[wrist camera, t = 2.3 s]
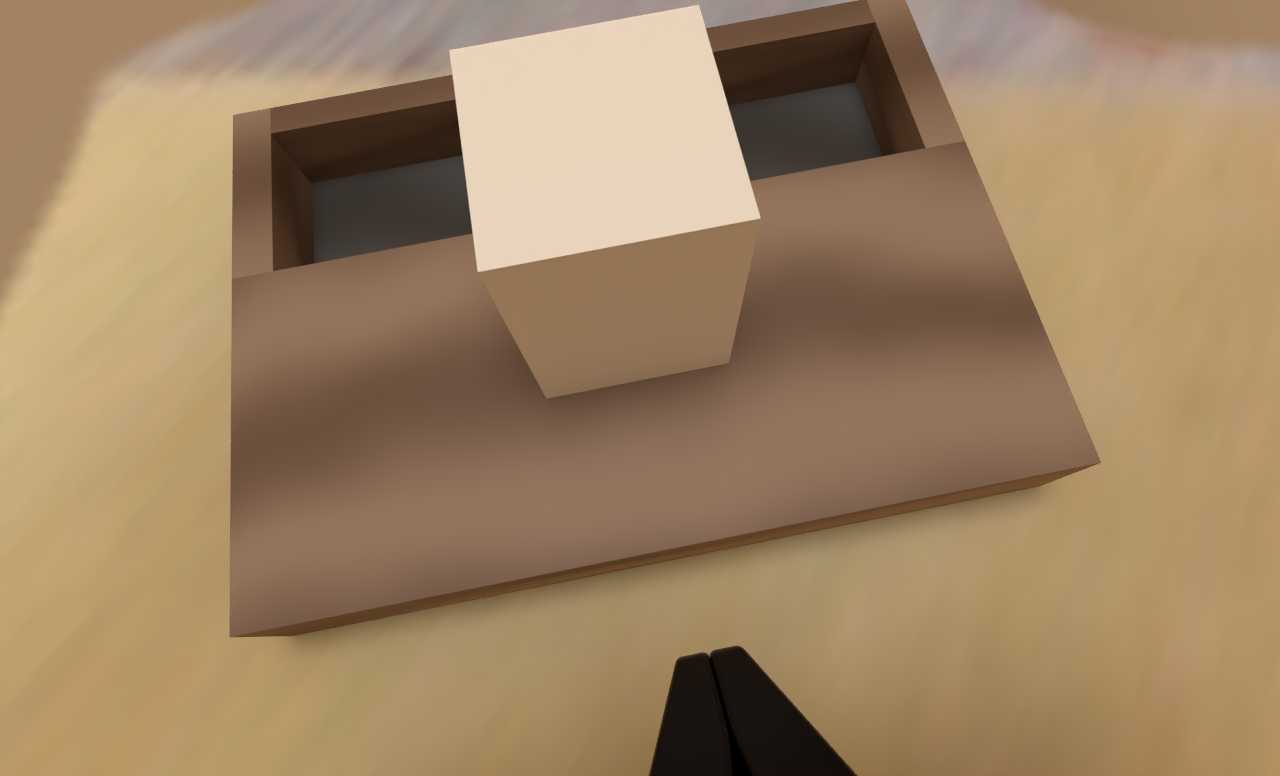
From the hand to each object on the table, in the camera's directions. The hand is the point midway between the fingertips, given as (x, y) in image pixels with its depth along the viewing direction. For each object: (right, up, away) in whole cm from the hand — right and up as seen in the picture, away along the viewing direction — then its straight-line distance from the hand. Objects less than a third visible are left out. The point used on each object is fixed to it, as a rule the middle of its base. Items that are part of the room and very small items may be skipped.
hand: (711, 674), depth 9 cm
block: (-1, +6, +11) cm, 12 cm away
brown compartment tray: (-1, +6, +14) cm, 15 cm away
